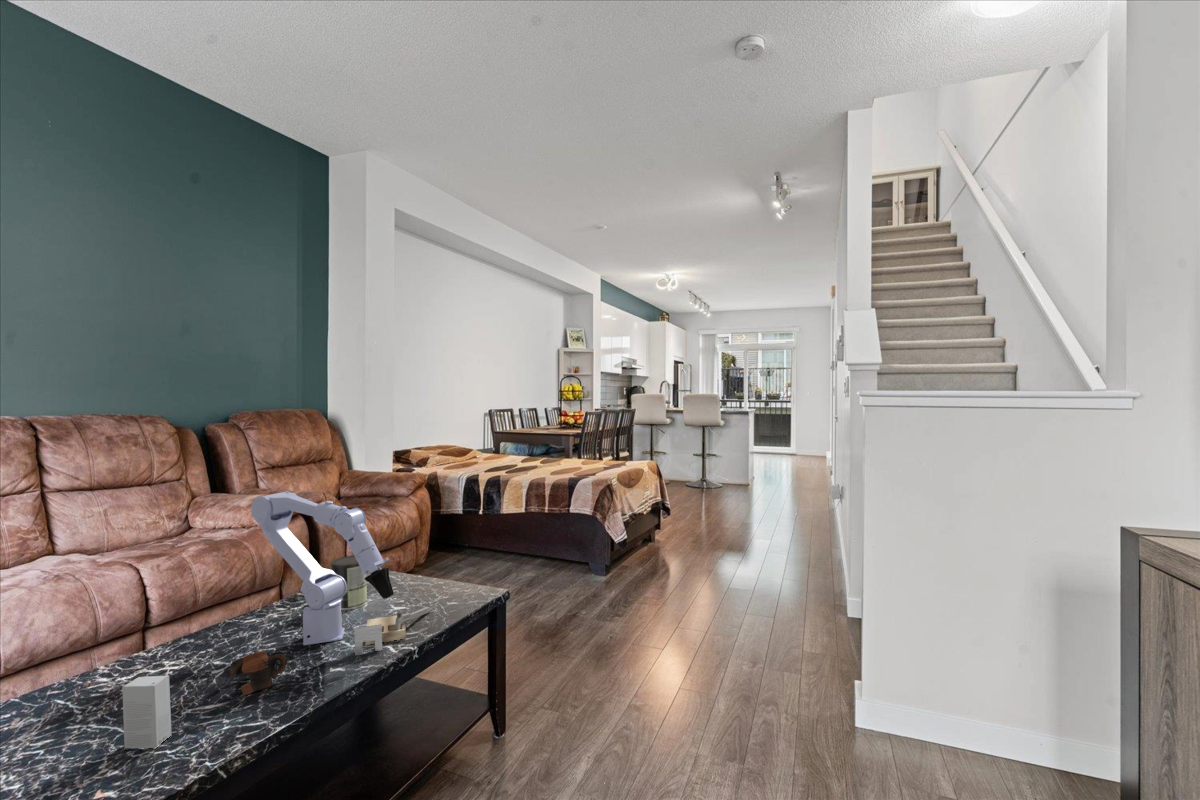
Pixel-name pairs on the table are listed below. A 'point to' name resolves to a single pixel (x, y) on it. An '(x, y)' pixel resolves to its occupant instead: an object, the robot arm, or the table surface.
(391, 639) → the tan wooden flat block
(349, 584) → the coffee can
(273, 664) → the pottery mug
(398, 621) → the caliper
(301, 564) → the robot arm
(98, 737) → the table surface
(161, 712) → the skincare box
